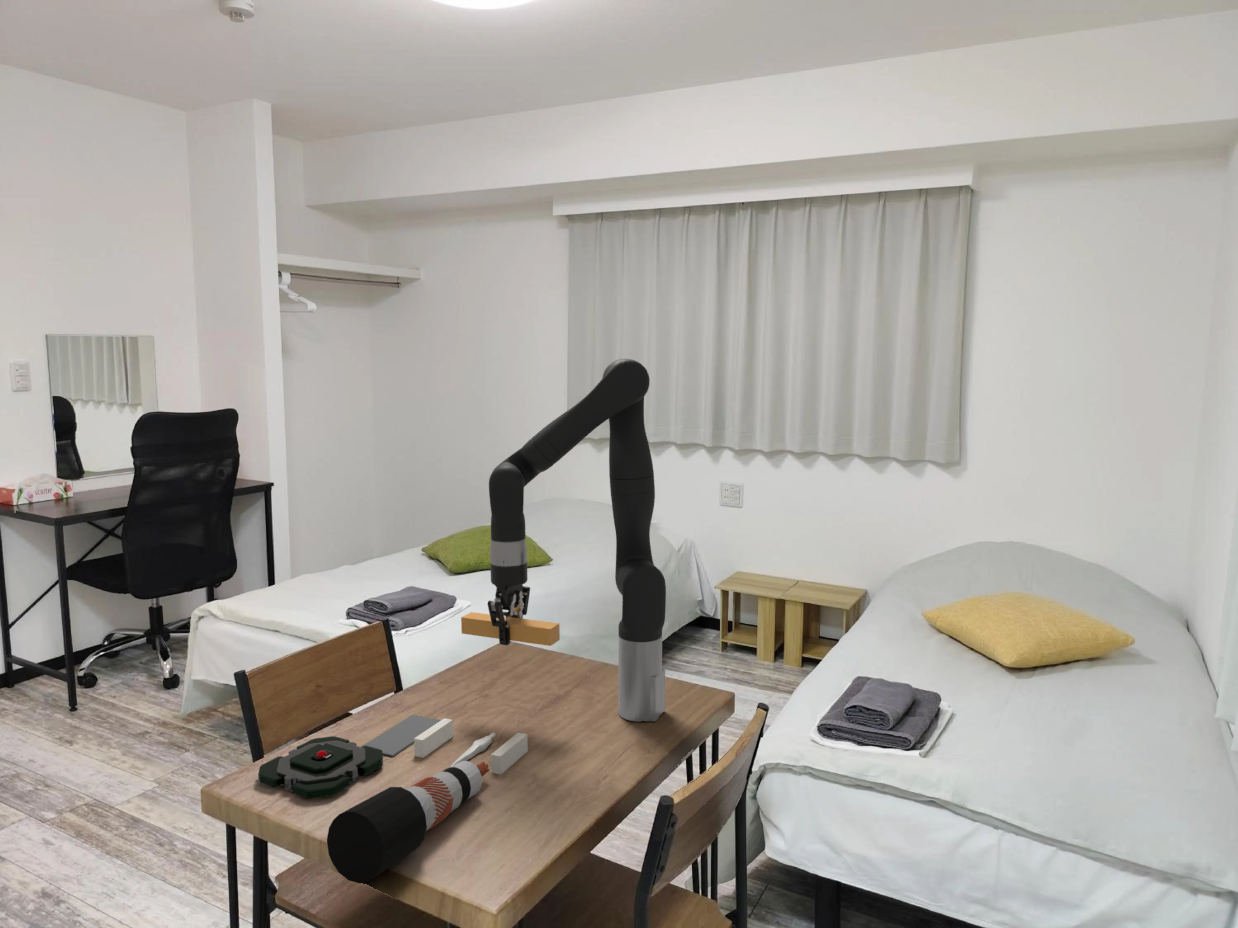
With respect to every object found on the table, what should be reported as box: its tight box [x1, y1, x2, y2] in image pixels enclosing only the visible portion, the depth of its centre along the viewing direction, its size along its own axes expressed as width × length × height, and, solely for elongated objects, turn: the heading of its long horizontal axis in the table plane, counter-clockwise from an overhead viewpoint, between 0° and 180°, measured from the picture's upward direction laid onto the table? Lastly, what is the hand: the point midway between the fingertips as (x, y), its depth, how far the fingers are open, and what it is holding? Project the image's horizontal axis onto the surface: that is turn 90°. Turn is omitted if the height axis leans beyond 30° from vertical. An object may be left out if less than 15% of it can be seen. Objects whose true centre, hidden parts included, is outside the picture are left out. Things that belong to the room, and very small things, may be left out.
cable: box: [326, 760, 490, 884], centre depth 137 cm, size 10×34×10 cm, turn 154°
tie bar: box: [460, 611, 561, 647], centre depth 177 cm, size 21×4×4 cm, turn 67°
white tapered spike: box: [450, 732, 496, 767], centre depth 163 cm, size 15×3×2 cm, turn 156°
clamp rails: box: [413, 718, 529, 775], centre depth 163 cm, size 19×10×4 cm, turn 67°
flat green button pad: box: [257, 735, 384, 799], centre depth 156 cm, size 18×18×5 cm
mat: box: [360, 713, 442, 758], centre depth 172 cm, size 8×17×1 cm, turn 157°
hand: (510, 640), depth 177 cm, fingers closed on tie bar, 4 cm apart
